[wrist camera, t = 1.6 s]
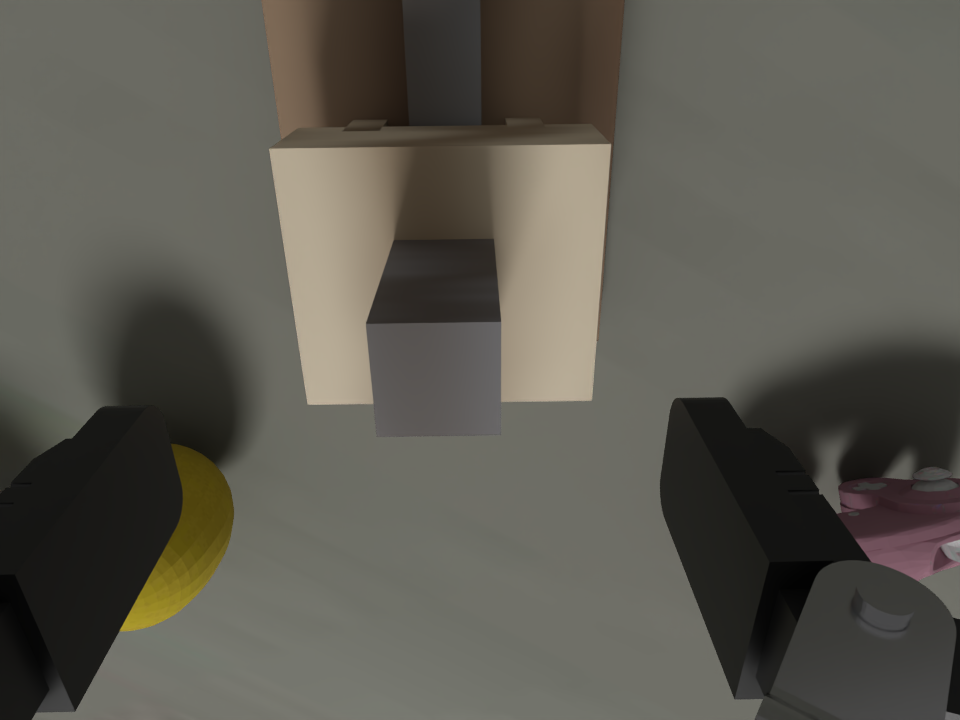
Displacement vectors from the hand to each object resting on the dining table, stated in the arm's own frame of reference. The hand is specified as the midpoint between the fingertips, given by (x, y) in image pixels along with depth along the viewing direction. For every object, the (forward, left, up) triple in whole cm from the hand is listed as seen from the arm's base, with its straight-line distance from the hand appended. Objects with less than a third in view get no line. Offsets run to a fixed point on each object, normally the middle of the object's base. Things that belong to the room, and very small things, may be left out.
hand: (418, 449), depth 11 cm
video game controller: (-15, +13, -14) cm, 24 cm away
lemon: (+11, +10, -14) cm, 20 cm away
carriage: (0, 0, -12) cm, 12 cm away
